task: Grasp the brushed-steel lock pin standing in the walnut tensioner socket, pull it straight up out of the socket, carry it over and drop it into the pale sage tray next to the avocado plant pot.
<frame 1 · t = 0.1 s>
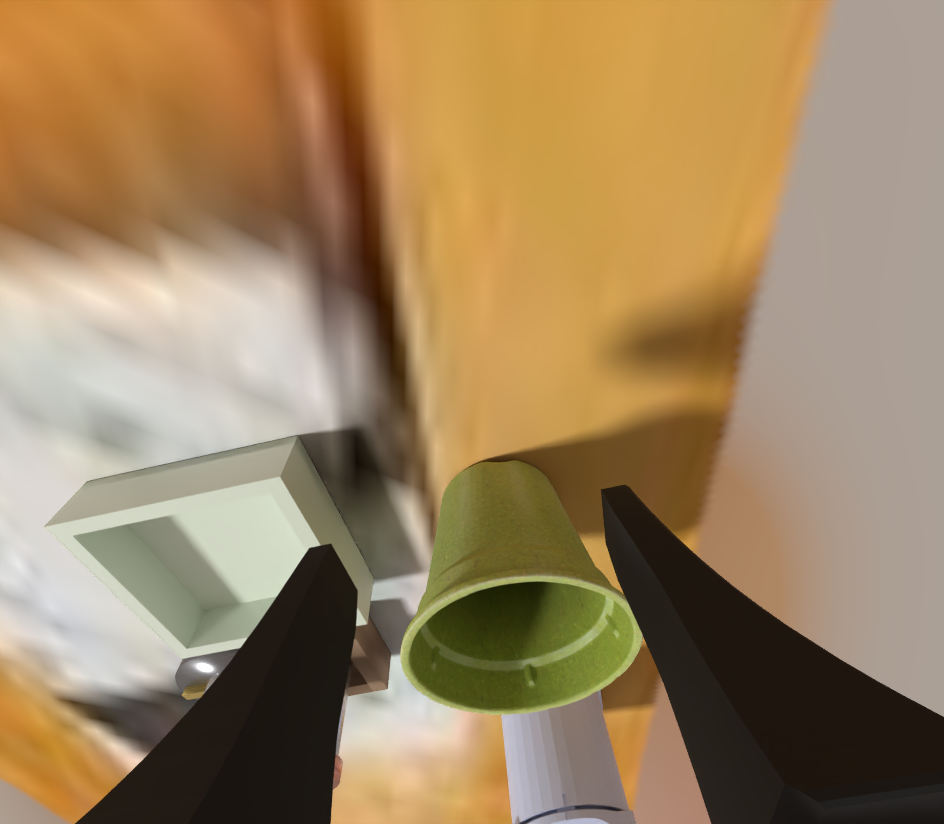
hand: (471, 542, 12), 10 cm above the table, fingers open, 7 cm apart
plant pot: (498, 497, 26), on the table
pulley: (235, 655, 32), on the table
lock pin: (321, 700, 28), in the tensioner socket
tensioner socket: (333, 637, 31), on the table
tray: (244, 534, 26), on the table
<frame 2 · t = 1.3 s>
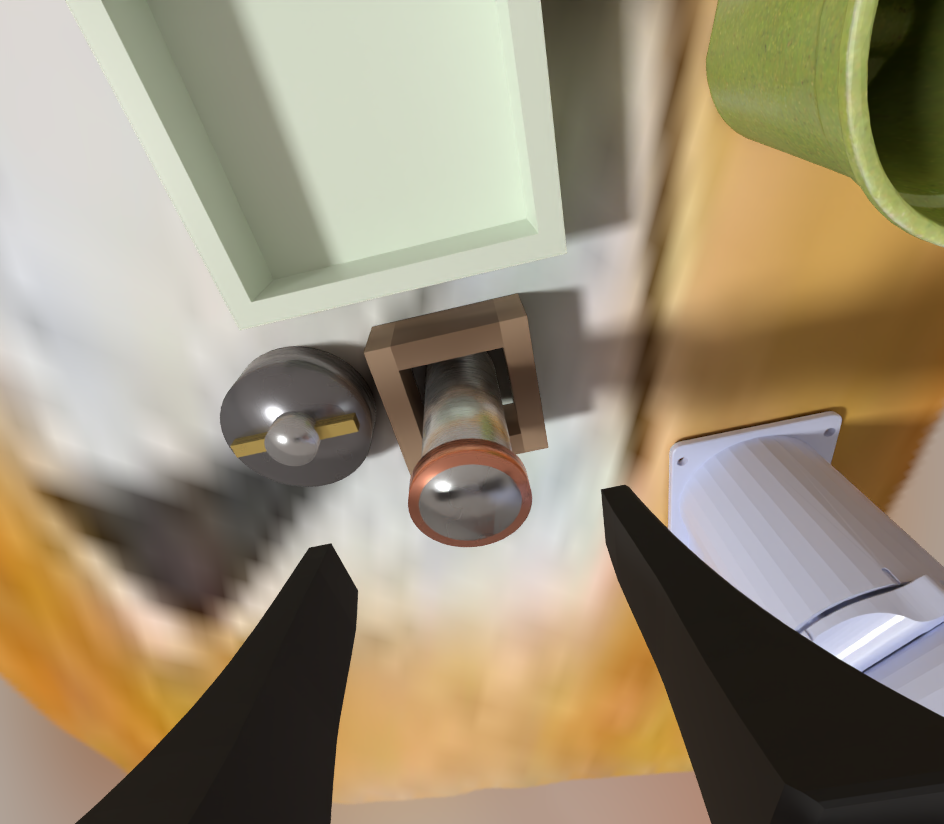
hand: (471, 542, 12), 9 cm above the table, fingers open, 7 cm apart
plant pot: (799, 27, 15), on the table
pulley: (307, 408, 21), on the table
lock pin: (464, 426, 17), in the tensioner socket
tensioner socket: (460, 374, 20), on the table
tray: (354, 95, 15), on the table
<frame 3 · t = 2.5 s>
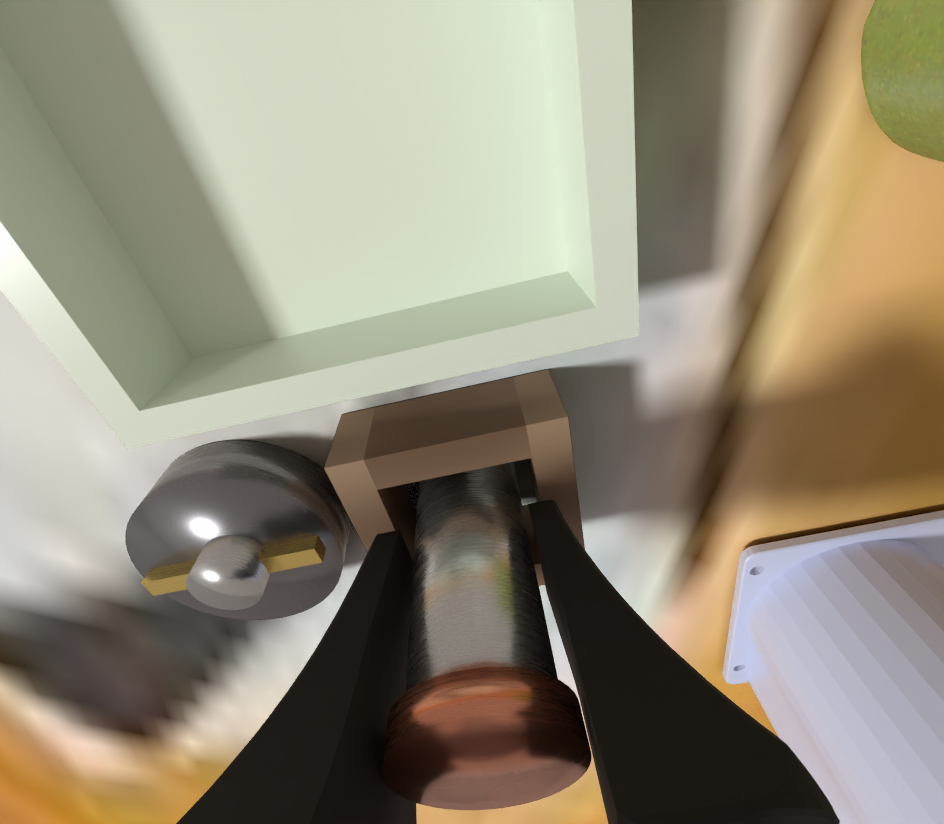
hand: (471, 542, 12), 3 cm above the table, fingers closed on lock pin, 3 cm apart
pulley: (258, 514, 15), on the table
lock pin: (474, 576, 11), in the tensioner socket, touching gripper
tensioner socket: (466, 471, 15), on the table
tray: (299, 84, 9), on the table
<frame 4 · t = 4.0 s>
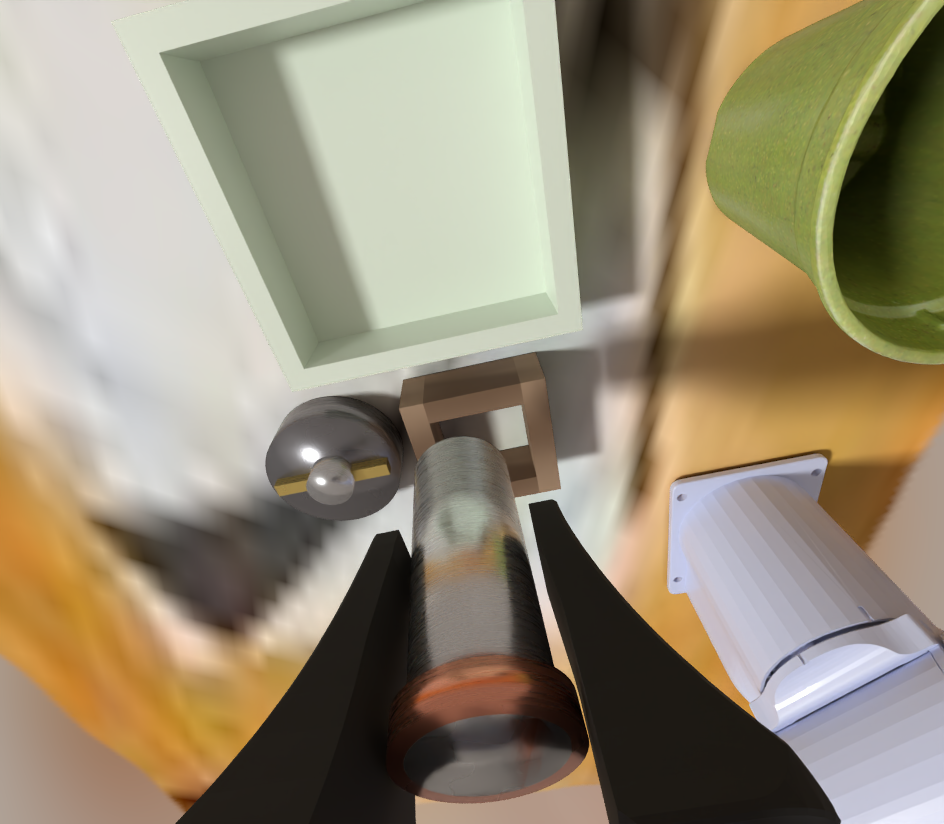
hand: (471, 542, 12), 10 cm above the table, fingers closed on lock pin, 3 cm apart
plant pot: (787, 135, 17), on the table
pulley: (341, 449, 23), on the table
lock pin: (471, 575, 12), point 11 cm above the table, touching gripper
tensioner socket: (481, 420, 22), on the table
tray: (397, 190, 17), on the table
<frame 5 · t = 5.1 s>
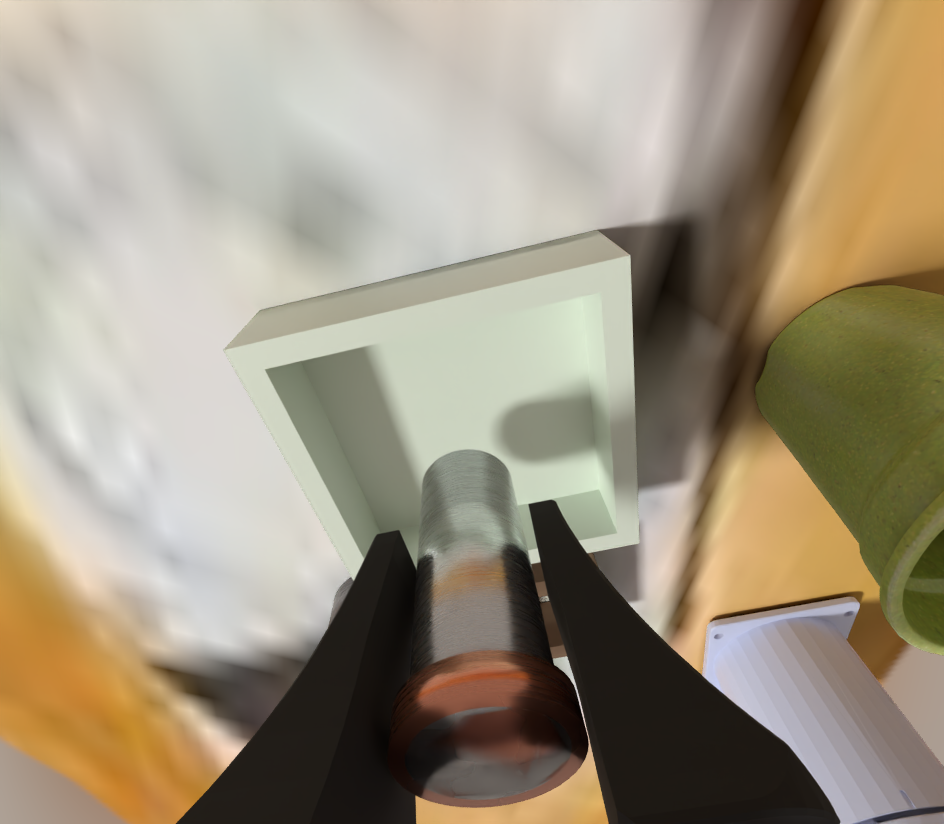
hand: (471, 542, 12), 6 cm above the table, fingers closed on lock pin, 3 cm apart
plant pot: (832, 358, 18), on the table
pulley: (394, 605, 24), on the table
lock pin: (474, 582, 12), point 7 cm above the table, tilted 5°, touching gripper
tensioner socket: (529, 580, 23), on the table
tray: (463, 413, 18), on the table
when the fingers open (5 cm above the table, at t = 5.7 s): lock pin drops 1 cm, resting on tray.
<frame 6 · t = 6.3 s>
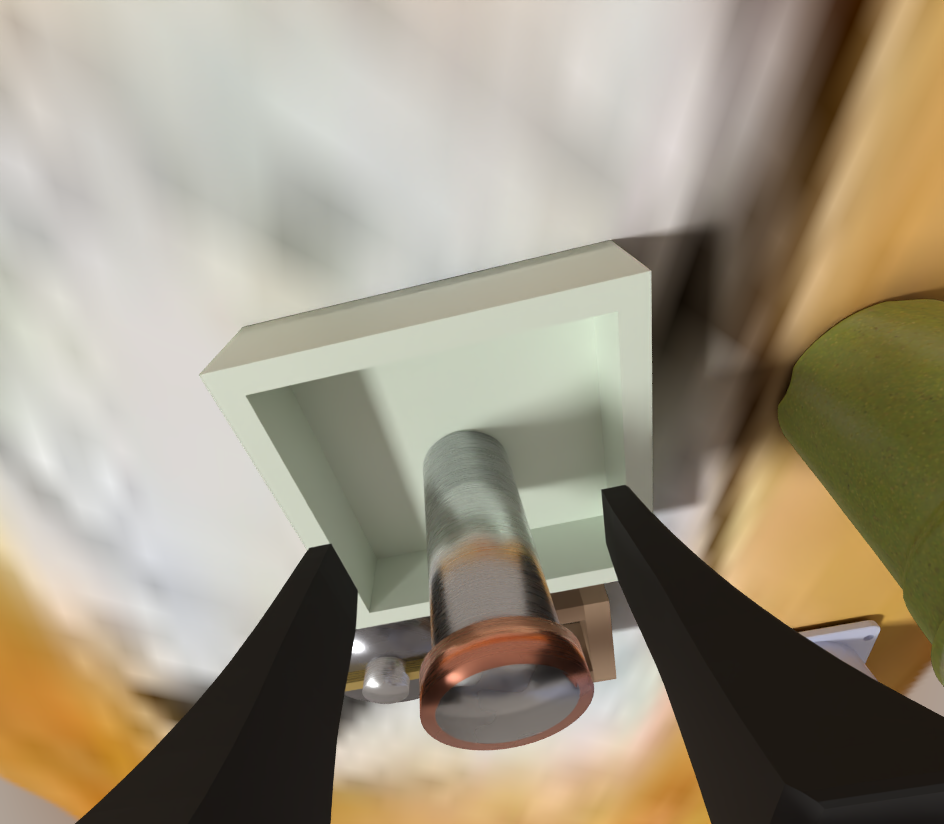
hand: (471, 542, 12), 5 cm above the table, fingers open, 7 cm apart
plant pot: (861, 376, 16), on the table
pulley: (391, 631, 23), on the table
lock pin: (481, 555, 13), in the tray, point 5 cm above the table
tensioner socket: (534, 605, 22), on the table
tray: (463, 434, 16), on the table
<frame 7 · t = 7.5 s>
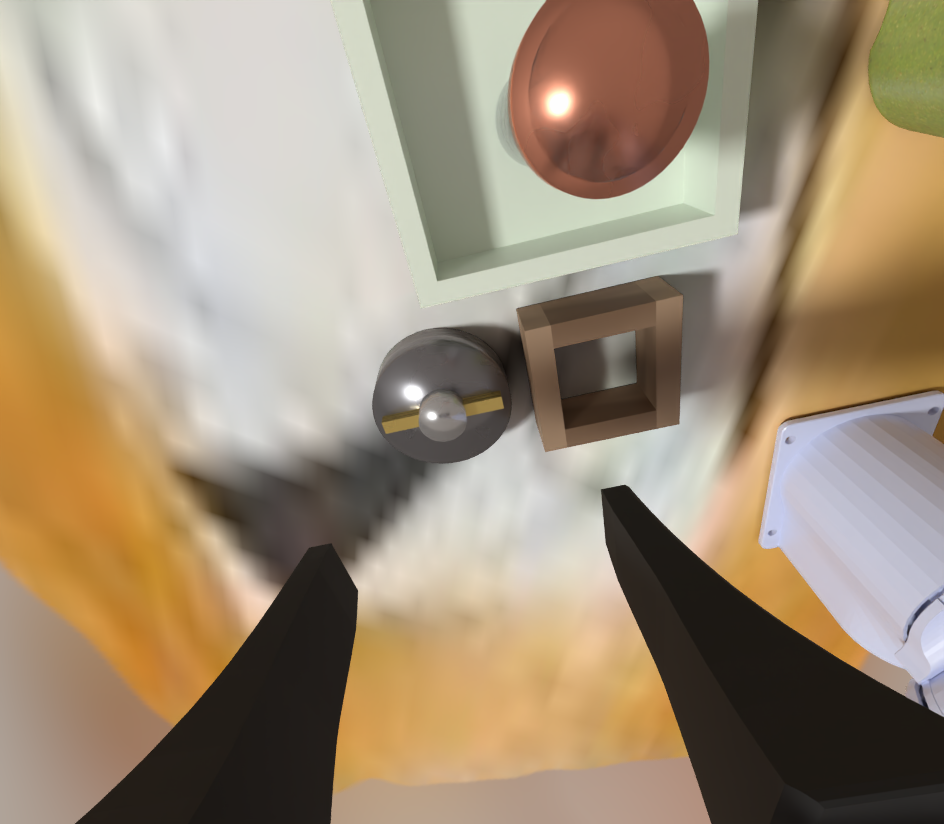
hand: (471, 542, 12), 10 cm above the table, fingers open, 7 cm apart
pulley: (442, 388, 22), on the table
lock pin: (564, 108, 12), in the tray, point 5 cm above the table
tensioner socket: (591, 355, 21), on the table
tray: (537, 86, 16), on the table
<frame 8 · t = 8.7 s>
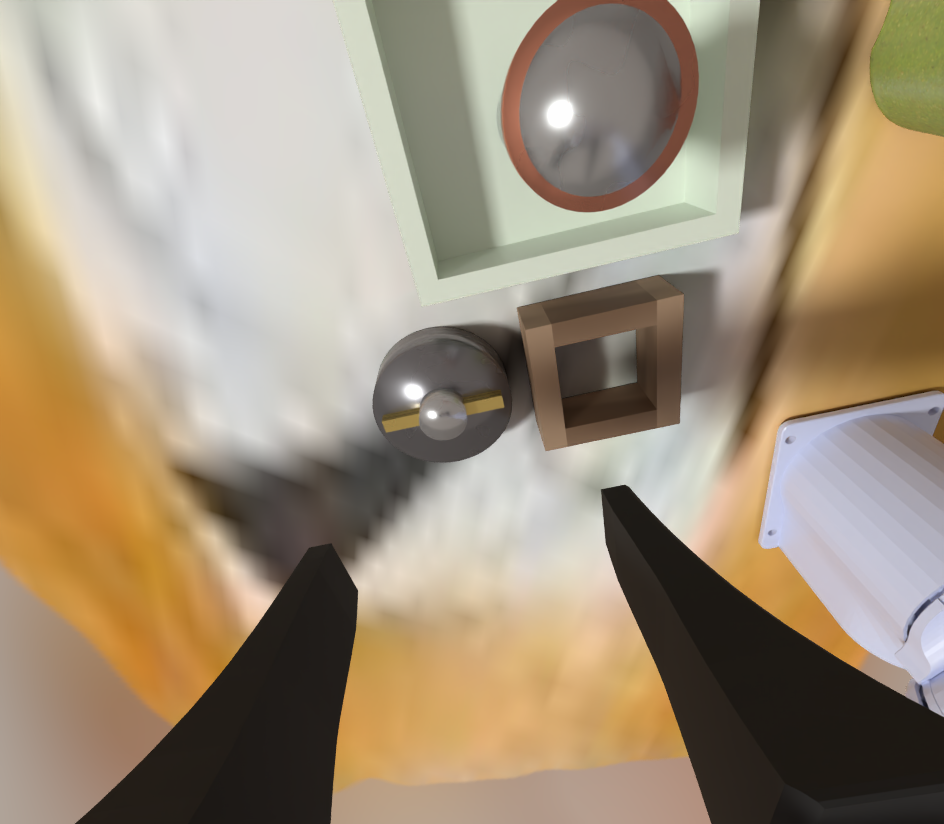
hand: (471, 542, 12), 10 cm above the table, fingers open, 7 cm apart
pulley: (442, 387, 22), on the table
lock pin: (562, 113, 12), in the tray, point 5 cm above the table
tensioner socket: (592, 354, 21), on the table
tray: (539, 84, 16), on the table
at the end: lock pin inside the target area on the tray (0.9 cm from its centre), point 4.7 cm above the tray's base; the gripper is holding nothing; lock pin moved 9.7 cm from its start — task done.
